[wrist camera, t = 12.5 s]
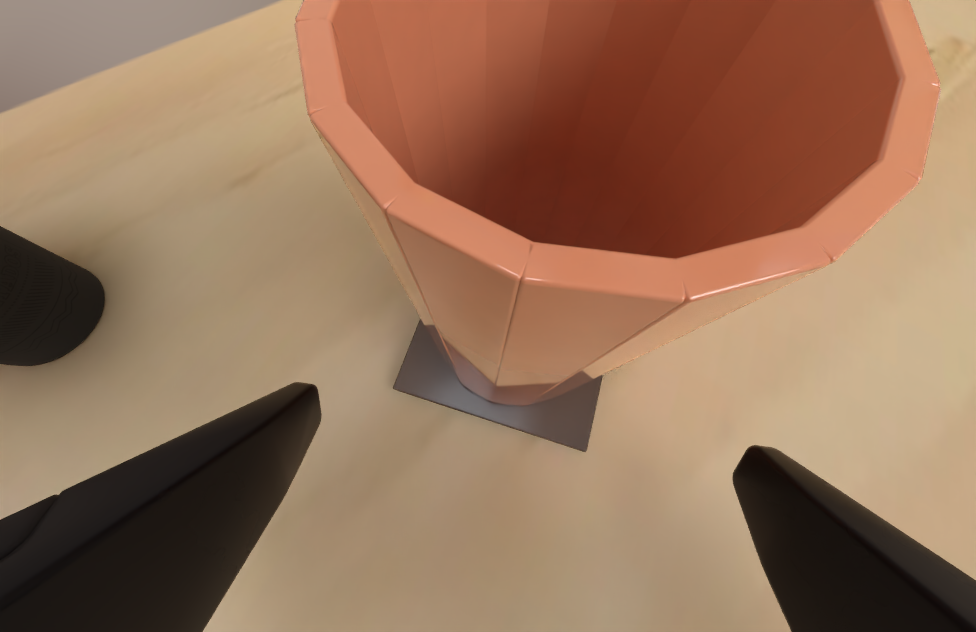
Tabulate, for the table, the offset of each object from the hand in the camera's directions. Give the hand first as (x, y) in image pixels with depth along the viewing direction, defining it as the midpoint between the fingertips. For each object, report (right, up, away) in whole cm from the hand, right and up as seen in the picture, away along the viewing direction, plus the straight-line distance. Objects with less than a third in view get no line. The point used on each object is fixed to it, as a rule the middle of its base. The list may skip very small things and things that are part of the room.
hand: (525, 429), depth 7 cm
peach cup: (0, +2, +8) cm, 9 cm away
